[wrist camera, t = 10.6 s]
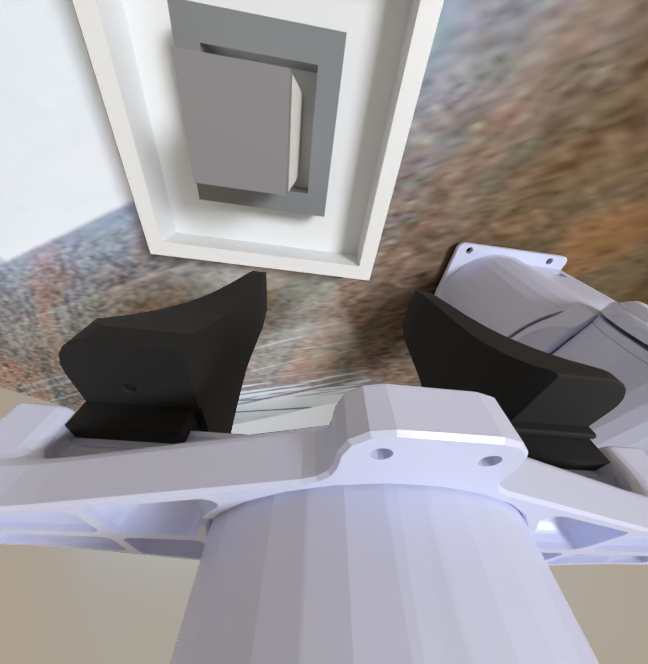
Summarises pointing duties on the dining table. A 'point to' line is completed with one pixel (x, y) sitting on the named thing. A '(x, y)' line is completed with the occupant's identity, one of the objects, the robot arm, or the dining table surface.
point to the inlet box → (316, 131)
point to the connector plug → (240, 121)
